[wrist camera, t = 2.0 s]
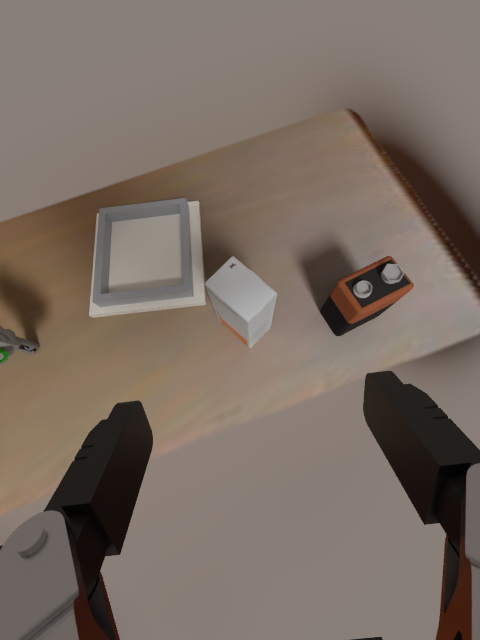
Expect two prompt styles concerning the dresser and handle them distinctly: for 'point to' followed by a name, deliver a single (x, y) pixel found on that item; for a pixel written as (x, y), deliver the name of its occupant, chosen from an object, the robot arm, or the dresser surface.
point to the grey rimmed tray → (147, 258)
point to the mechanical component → (13, 344)
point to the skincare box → (242, 301)
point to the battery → (365, 295)
